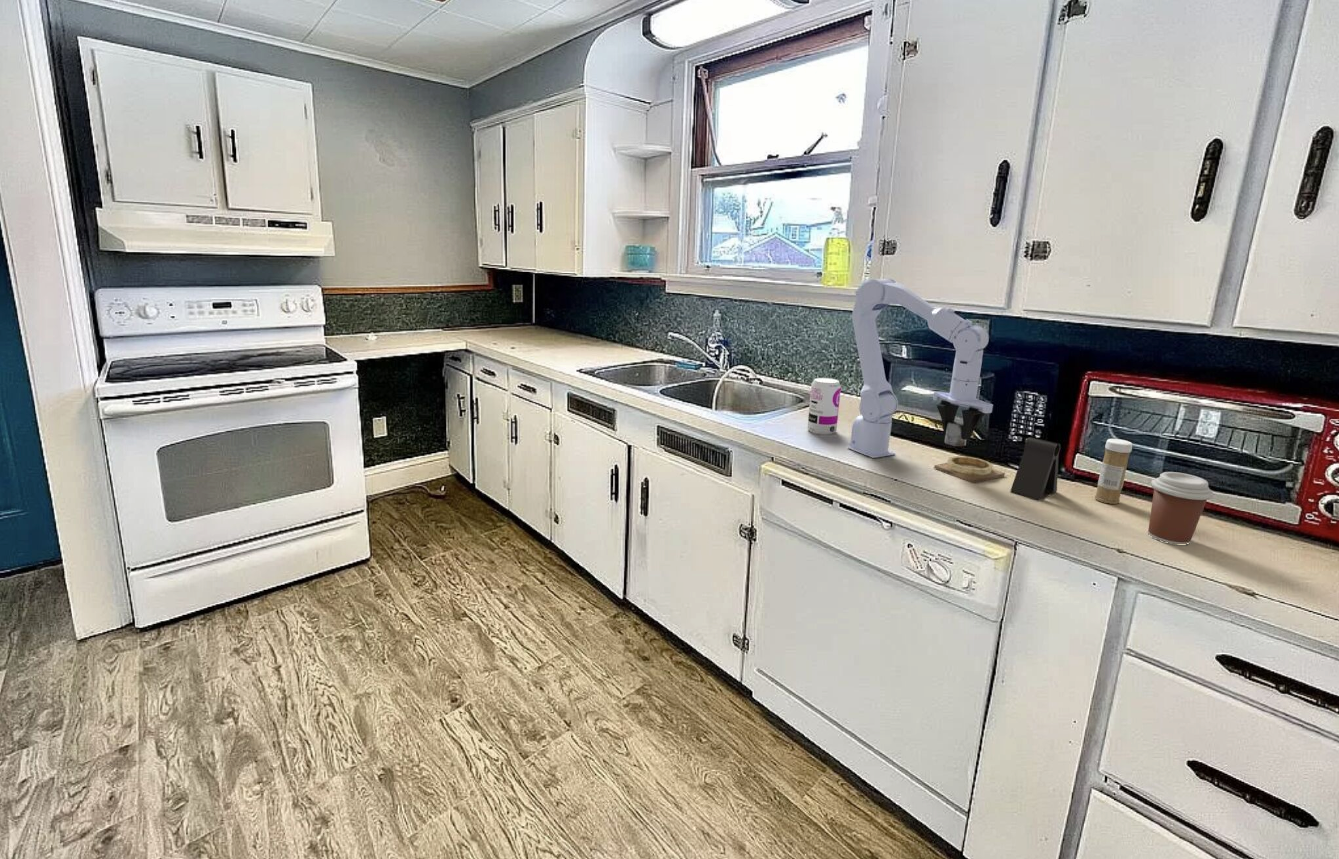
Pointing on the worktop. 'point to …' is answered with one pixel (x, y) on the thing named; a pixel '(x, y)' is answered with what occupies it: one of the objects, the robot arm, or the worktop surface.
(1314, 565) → the worktop surface
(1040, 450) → the phone stand
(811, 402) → the supplement can
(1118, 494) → the sprinkles bottle
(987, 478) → the ring plate
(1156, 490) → the coffee cup
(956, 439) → the cylinder
